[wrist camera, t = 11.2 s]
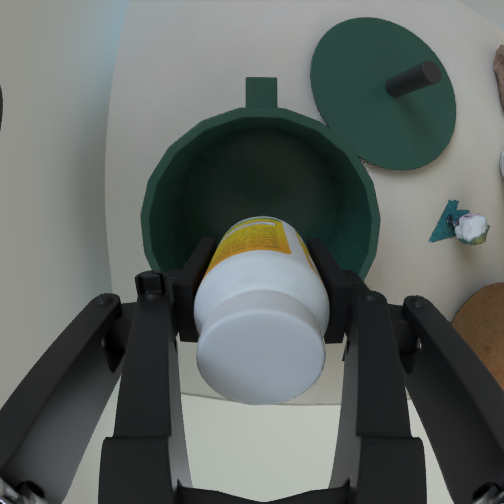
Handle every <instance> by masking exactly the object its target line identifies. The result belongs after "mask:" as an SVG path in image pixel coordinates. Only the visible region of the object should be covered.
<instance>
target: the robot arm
mask: <svg viewBox="0 0 504 504" xmlns="http://www.w3.org/2000/svg"><path fill="white" fill-rule="evenodd" d="M307 249H308V251H309V254H310V256H311V258H312V260H313V262H314V264H315V266H316V269H317V271H318V273H319V275H320V277H321V280H322V282H323V284H324V287H325V289H326V292H327V295H328V299H329V306H330V315H329V322H328V326H327V329H326V332H325V334H324V336H323V337H324V341H325V344H332V343H342V342H343V338H344V333H345V334H346V336H347V342H346V346H345V351H344V355H343V359H342V361H345V362H344V378H343V390H342V401H341V411H340V420H339V429H338V437H337V444H336V450H335V457H334V463H333V470H332V475H331V480H330V484H329V487H328V489H321V490H312V491H308V492H304V493H301V494H297V495H294V496H290V497H286V498H283V499H278V500H274V501H270V502H258V501H254V500H249V499H245V498H241V497H237V496H233V495H230V494H226V493H223V492H219V491H214V490H204V489H196V488H193V486H192V481H191V476H190V470H189V464H188V457H187V449H186V441H185V433H184V425H183V415H182V404H181V393H180V380H179V365H178V346H177V340H176V336H177V334H178V332H179V336H180V341H182V342H196V343H198V339H199V333H198V331H197V328H196V325H195V320H194V303H195V297H196V294H197V291H198V288H199V286H200V284H201V282H202V280H203V278H204V276H205V273H206V271H207V269H208V267H209V265H210V263H211V260H212V258H213V256H214V254H215V252H216V250H217V244H216V237H203V239H202V240H201V242H200V243H199V244H198V246H197V247H196V249H195V250H194V252H193V253H192V255H191V256H190V258H189V259H188V261H187V262H186V264H185V265H184V267H183V268H182V269H172V270H170V271H168V272H166V273H165V272H163V271H159V270H151V271H145V272H142V273H140V274H138V275H136V277H135V283H136V289H137V294H138V298H137V302H133V303H123V304H121V301H120V298H119V296H118V295H116V294H112V293H110V294H108V293H104V294H101V295H99V296H97V297H95V298H94V299H92V300H91V301H90V302H89V304H88V305H87V306H86V307H85V308H84V309H83V310H82V311H81V312H80V313H79V314H78V315H77V317H75V319H74V320H73V321H72V322H71V323H70V324H69V325H68V326H67V327H66V329H65V330H64V331H63V332H62V333H61V334H60V335H59V336H58V338H57V339H56V340H55V341H54V342H53V343H52V345H51V346H50V347H49V348H48V349H47V350H46V352H45V353H44V354H43V355H42V356H41V358H40V359H39V360H38V361H37V363H36V364H35V365H34V366H33V367H32V369H31V370H30V371H29V372H28V374H27V375H26V376H25V378H24V379H23V380H22V381H21V383H20V384H19V385H18V387H17V388H16V389H15V391H14V392H13V393H12V395H11V396H10V397H9V399H8V400H7V401H6V403H5V404H4V406H3V407H2V408H1V410H0V504H61V503H62V502H63V500H64V499H65V497H66V495H67V493H68V490H69V488H70V486H71V484H72V481H73V478H74V476H75V474H76V471H77V468H78V466H79V464H80V462H81V459H82V457H83V455H84V452H85V450H86V448H87V445H88V443H89V441H90V438H91V436H92V434H93V432H94V430H95V427H96V425H97V423H98V421H99V419H100V416H101V414H102V412H103V410H104V408H105V406H106V404H107V402H108V400H109V398H110V396H111V394H112V392H113V389H114V387H115V385H116V383H117V381H118V380H119V377H120V376H121V382H120V388H119V395H118V402H117V410H116V418H115V427H114V434H113V436H112V437H106V438H105V439H104V441H103V444H102V450H101V460H100V461H101V462H100V473H99V491H98V504H427V488H426V467H425V455H424V446H423V442H422V440H421V439H420V438H419V437H412V435H411V430H410V420H409V412H408V404H407V397H406V390H405V387H406V389H407V391H408V393H409V395H410V397H411V399H412V401H413V404H414V406H415V408H416V410H417V413H418V415H419V417H420V419H421V422H422V424H423V427H424V429H425V431H426V434H427V436H428V438H429V441H430V443H431V446H432V448H433V451H434V453H435V456H436V459H437V461H438V464H439V467H440V469H441V472H442V475H443V478H444V480H445V483H446V486H447V489H448V491H449V494H450V496H451V498H452V500H453V502H454V504H504V391H503V389H502V388H501V387H500V385H499V384H498V382H497V381H496V380H495V378H494V377H493V376H492V374H491V373H490V372H489V370H488V369H487V368H486V366H485V365H484V364H483V363H482V361H481V360H480V359H479V357H478V356H477V355H476V354H475V352H474V351H473V350H472V349H471V348H470V346H469V345H468V344H467V343H466V341H465V340H464V339H463V338H462V337H461V336H460V334H459V333H458V332H457V331H456V330H455V329H454V327H453V326H452V325H451V324H450V323H449V322H448V321H447V319H446V318H445V317H444V316H443V315H442V314H441V313H440V312H439V311H438V309H437V308H436V307H435V306H434V305H433V304H432V303H431V302H430V301H429V300H427V299H425V298H424V297H422V296H420V297H419V296H417V295H416V296H408V297H406V298H405V299H404V303H403V306H401V305H393V304H388V303H387V300H386V298H385V296H384V295H382V294H381V293H379V292H376V291H371V290H369V288H368V287H367V286H366V284H365V283H364V282H363V280H362V279H361V278H360V276H359V275H358V274H357V273H355V272H353V271H352V270H342V269H341V267H340V266H339V265H338V263H337V262H336V260H335V259H334V257H333V256H332V254H331V253H330V251H329V250H328V249H327V247H326V246H325V244H324V243H323V241H322V240H321V239H320V238H308V242H307ZM420 343H421V348H420V347H419V346H420ZM121 374H122V375H121Z"/></svg>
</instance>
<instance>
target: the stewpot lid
mask: <svg viewBox="0 0 504 504" xmlns="http://www.w3.org/2000/svg"><path fill="white" fill-rule="evenodd" d="M310 80H311V88H312V92H313V97H314V100H315V103H316V105H317V108H318V110H319V112H320V114H321V116H322V118H323V120H324V121H325V123H326V124H327V126H328V128H329V129H331V130H332V131H333V132H334V133H335V134H337V135H338V136H339V137H340V138H341V139H343V140H344V141H345V142H346V143H347V144H348V145H350V146H351V147H352V148H353V149H354V151H355V152H356V154H357V156H359V157H360V158H362V159H363V160H365V161H367V162H369V163H371V164H374V165H377V166H380V167H382V168H387V169H392V170H411V169H416V168H419V167H422V166H424V165H427V164H429V163H430V162H432V161H433V160H435V159H436V158H437V157H438V156H439V155H440V154H441V153H442V152H443V150H444V149H445V148H446V146H447V145H448V143H449V141H450V139H451V136H452V134H453V131H454V126H455V120H456V102H455V95H454V91H453V87H452V84H451V81H450V79H449V76H448V74H447V72H446V70H445V68H444V66H443V65H442V63H441V61H440V60H439V59H438V57H437V56H436V54H435V53H434V52H433V51H432V50H431V49H430V47H429V46H428V45H427V44H426V43H424V42H423V41H422V40H421V39H420V38H419V37H417V36H416V35H415V34H413V33H412V32H410V31H409V30H407V29H405V28H404V27H402V26H400V25H397V24H395V23H392V22H389V21H386V20H382V19H378V18H368V17H366V18H355V19H350V20H347V21H344V22H341V23H339V24H338V25H336V26H334V27H333V28H331V29H330V30H329V31H328V32H327V33H326V34H325V35H324V36H323V37H322V38H321V40H320V41H319V43H318V45H317V47H316V49H315V51H314V54H313V57H312V61H311V68H310Z"/></svg>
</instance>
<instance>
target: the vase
mask: <svg viewBox="0 0 504 504" xmlns="http://www.w3.org/2000/svg"><path fill="white" fill-rule="evenodd" d="M500 169H501V173H502V175H503V177H504V150H503V152H502V154H501V157H500Z"/></svg>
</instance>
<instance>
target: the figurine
mask: <svg viewBox="0 0 504 504" xmlns="http://www.w3.org/2000/svg"><path fill="white" fill-rule="evenodd" d="M458 203H459V201H456V200H454V201H450V200H449V203H448V205H447V207H446V209H445V211H444V212H443V215H442V216H441V219H440V221H439V222H438V226H437V227H436V229H435V231H434V232H433V233H432V237H431V238H430V240H429V242H430V241H432V242H435V241H438V240H442V239H446V238H447V237H449V238H451V237H452V236H453V237H454V236H456V237H457V238H458V239H459V240H460V241H461V242H462V243H464V244H469V245H471V246H472V245H476V244H482V243H483V242H485V241H486V236H487V232H488V230H489V228H490V225H487V220H486V218H485V217H484V216H481V215H480V214H469V211H470V210H469V211H468V210H463V209H462V211H461V210H457V209H456V208H457V205H458Z"/></svg>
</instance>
